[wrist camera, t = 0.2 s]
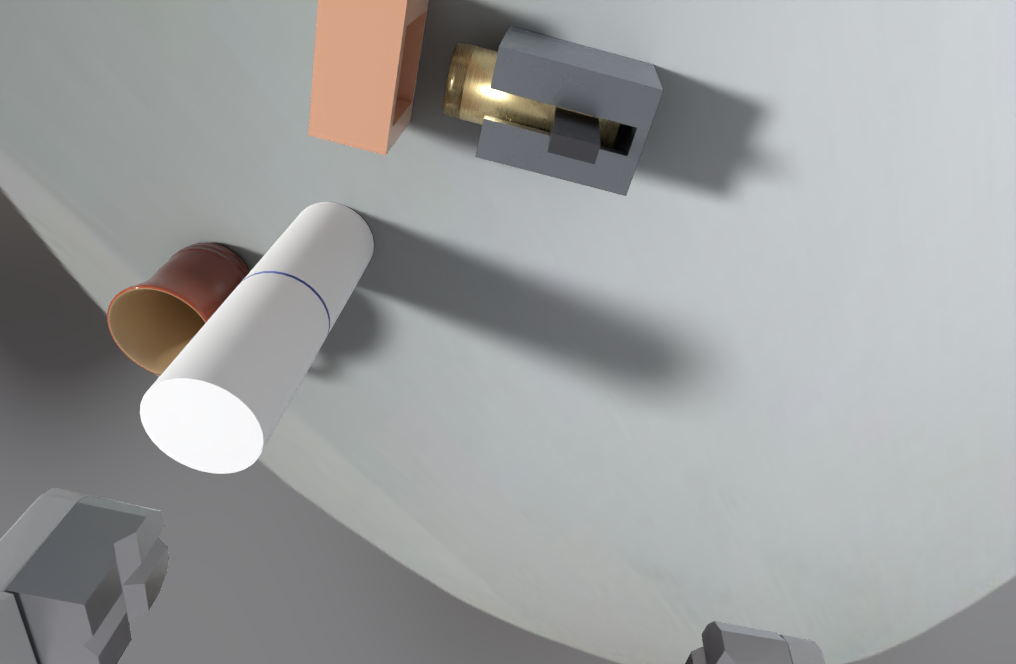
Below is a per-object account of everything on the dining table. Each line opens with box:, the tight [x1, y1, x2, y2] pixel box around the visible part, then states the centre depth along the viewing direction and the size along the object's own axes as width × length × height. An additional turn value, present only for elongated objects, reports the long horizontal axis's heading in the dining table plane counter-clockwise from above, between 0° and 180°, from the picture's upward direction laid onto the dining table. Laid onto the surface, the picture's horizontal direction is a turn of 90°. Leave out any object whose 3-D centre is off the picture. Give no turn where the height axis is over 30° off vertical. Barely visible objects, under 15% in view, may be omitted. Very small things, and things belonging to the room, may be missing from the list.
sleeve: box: [476, 26, 663, 196], centre depth 49 cm, size 7×11×7 cm
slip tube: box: [443, 41, 620, 165], centre depth 46 cm, size 5×12×11 cm, turn 76°
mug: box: [107, 243, 250, 375], centre depth 60 cm, size 12×9×10 cm
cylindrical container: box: [140, 202, 374, 473], centre depth 50 cm, size 7×7×25 cm
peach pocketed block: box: [309, 0, 429, 155], centre depth 48 cm, size 10×5×8 cm, turn 166°
